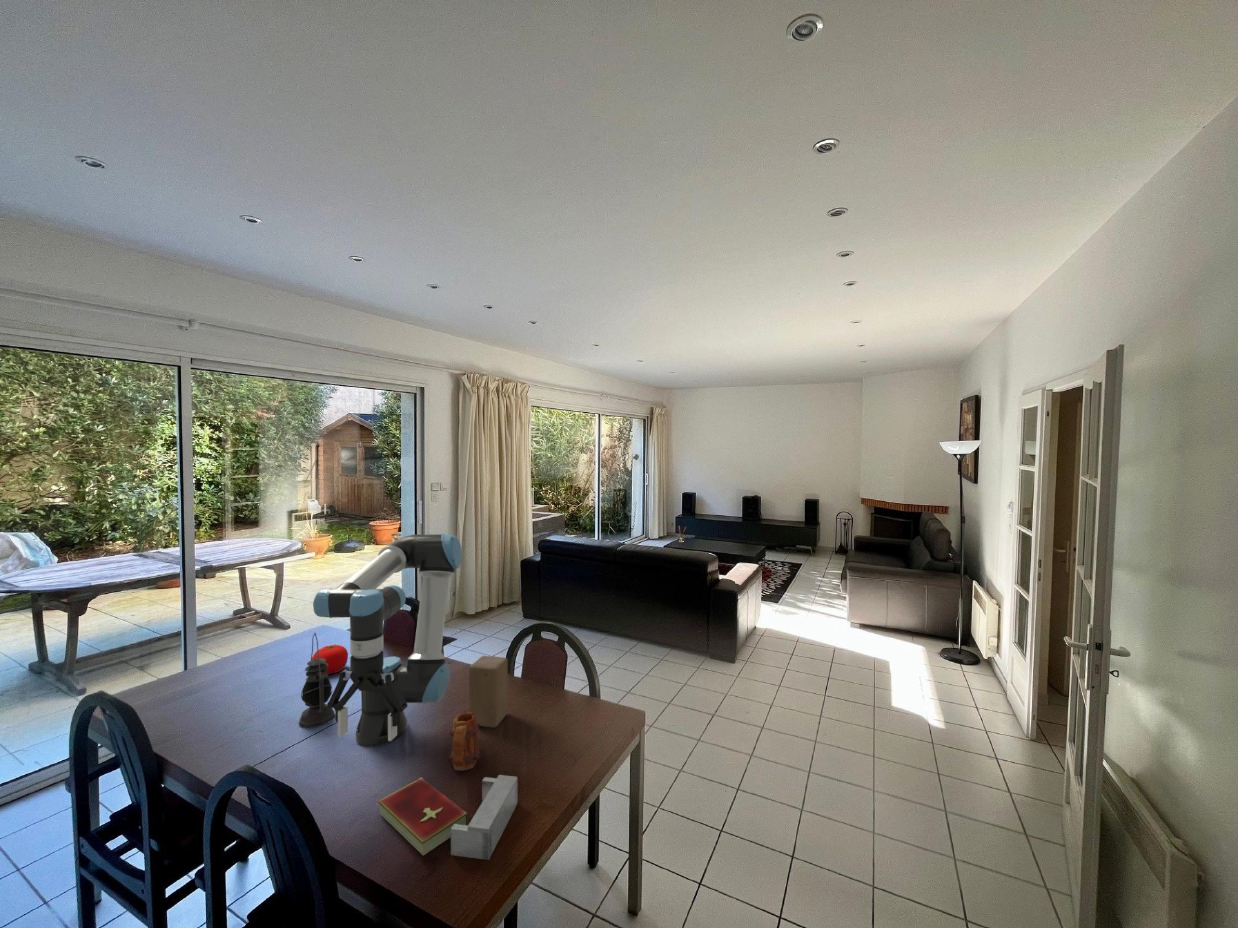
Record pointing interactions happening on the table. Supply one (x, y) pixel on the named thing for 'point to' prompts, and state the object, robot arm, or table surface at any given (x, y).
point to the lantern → (316, 694)
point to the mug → (464, 741)
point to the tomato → (333, 657)
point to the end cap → (486, 819)
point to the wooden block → (489, 690)
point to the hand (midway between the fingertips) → (367, 736)
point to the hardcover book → (422, 814)
